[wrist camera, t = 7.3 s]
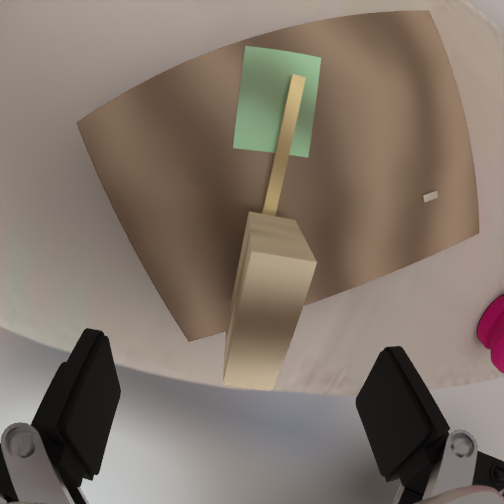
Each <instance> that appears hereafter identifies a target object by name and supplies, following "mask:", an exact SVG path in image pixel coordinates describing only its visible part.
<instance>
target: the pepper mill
mask: <svg viewBox="0 0 504 504" xmlns="http://www.w3.org/2000/svg"><path fill="white" fill-rule="evenodd" d="M477 336H478V339H479V340H480V341H481V343H482V344H483V345H484V346H485V347H486V348H487V349H491V360H492V363H493V365H494V366H495V367H496V368H497V369H498V370H499V371H500V372H502V373H504V295H503V296H501V297H499V298H498V299H496V300H495V301H494V302H493V303H492V304H491V305H490V306H489V308H488V309H487V310H486V312H485V313H484V315H483V316H482V318H481V320H480V323H479V325H478V329H477Z"/></svg>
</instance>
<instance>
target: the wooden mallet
mask: <svg viewBox="0 0 504 504" xmlns="http://www.w3.org/2000/svg"><path fill="white" fill-rule="evenodd" d="M305 79H306V77H303V76H299V75H295V74H292V75H291V80H290V85H289V89H288V94H287V99H286V103H285V108H284V112H283V117H282V122H281V126H280V131H279V136H278V140H277V145H276V150H275V154H274V159H273V164H272V168H271V173H270V177H269V182H268V187H267V191H266V196H265V201H264V205H263V210H262V214H261V213H255V212H250V211H249V214H248V219H247V224H246V229H245V234H244V239H243V244H242V249H241V254H240V259H239V264H238V269H237V274H236V279H235V284H234V289H233V294H232V300H231V305H230V310H229V315H228V320H227V329H226V344H225V359H224V375H223V385H224V386H232V387H240V388H250V389H260V390H271V391H272V390H273V388H274V385H275V383H276V380H277V377H278V375H279V372H280V370H281V367H282V364H283V361H284V359H285V356H286V353H287V351H288V348H289V345H290V342H291V339H292V337H293V334H294V331H295V328H296V325H297V322H298V319H299V317H300V314H301V311H302V308H303V305H304V302H305V299H306V296H307V293H308V290H309V286H310V283H311V280H312V277H313V274H314V271H315V268H316V264H317V261H316V259H315V257H314V255H313V253H312V251H311V249H310V247H309V245H308V244H307V242H306V240H305V238H304V236H303V234H302V232H301V230H300V228H299V226H298V224H297V223H296V221H295V220H292V219H287V218H282V217H277V216H275V215H276V211H277V206H278V202H279V197H280V193H281V189H282V184H283V180H284V175H285V171H286V167H287V162H288V158H289V153H290V149H291V144H292V140H293V135H294V130H295V126H296V121H297V117H298V112H299V107H300V103H301V98H302V94H303V89H304V84H305Z"/></svg>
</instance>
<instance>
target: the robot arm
mask: <svg viewBox="0 0 504 504" xmlns="http://www.w3.org/2000/svg"><path fill="white" fill-rule="evenodd" d="M120 393H121V390H120V385H119V381H118V377H117V373H116V369H115V365H114V361H113V356H112V352H111V348H110V343H109V339H108V337H107V336H104V333H103V332H102V331H99V330H94V329H88V328H86V329H85V330H84V331H83V333H82V335H81V337H80V338H79V340H78V342H77V344H76V346H75V347H74V349H73V351H72V353H71V355H70V357H69V359H68V360H67V362H63V363H62V364H61V365H60V367H59V368H58V370H57V372H56V374H55V376H54V378H53V380H52V382H51V384H50V386H49V388H48V390H47V392H46V394H45V396H44V398H43V400H42V402H41V404H40V406H39V408H38V410H37V413H36V415H35V417H34V419H33V421H32V424H31V425H29V424H27V423H14V424H12V425H10V426H8V427H7V428H6V429H5V430H4V432H3V434H2V437H1V443H0V504H89V503H88V501H87V499H86V497H85V496H84V494H83V492H82V490H81V488H80V486H81V483H82V479H83V478H85V479H88V480H93V476H94V475H97V474H99V471H100V467H101V463H102V459H103V455H104V451H105V447H106V444H107V440H108V436H109V433H110V429H111V425H112V422H113V418H114V415H115V412H116V408H117V405H118V402H119V398H120ZM356 407H357V410H358V412H359V415H360V418H361V421H362V423H363V426H364V429H365V432H366V434H367V437H368V440H369V443H370V445H371V448H372V451H373V454H374V457H375V459H376V462H377V465H378V468H379V471H380V473H381V475H382V476H384V477H385V479H386V482H390V481H393V480H397V479H399V478H400V480H401V486H400V489H399V491H398V493H397V495H396V497H395V500H394V502H393V504H504V462H503V461H502V460H499V459H496V458H494V457H492V456H489V455H486V454H484V453H482V452H479V451H478V449H477V448H478V447H477V442H476V440H475V438H474V437H473V436H472V435H471V434H470V433H469V432H467V431H464V430H455V431H453V432H451V434H450V435H449V433H448V431H449V429H450V427H449V426H448V424H447V422H446V420H445V418H444V417H443V415H442V413H441V411H440V410H439V408H438V406H437V404H436V403H435V401H434V399H433V397H432V395H431V394H430V392H429V390H428V389H427V387H426V385H425V383H424V382H423V380H422V378H421V377H420V375H419V374H418V372H417V370H416V369H415V367H414V365H413V364H412V362H411V361H410V359H409V357H408V356H407V354H406V353H405V351H404V349H403V348H402V347H400V346H395V347H386V348H385V349H384V350H383V351H381V352H380V354H379V356H378V358H377V360H376V362H375V364H374V366H373V368H372V370H371V372H370V374H369V375H368V377H367V379H366V381H365V383H364V385H363V387H362V389H361V390H360V392H359V394H358V396H357V398H356Z"/></svg>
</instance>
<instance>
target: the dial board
mask: <svg viewBox="0 0 504 504" xmlns="http://www.w3.org/2000/svg"><path fill="white" fill-rule="evenodd" d="M292 74H295V75H299V76H303V77H306V79H305V84H304V89H303V94H302V98H301V103H300V107H299V112H298V117H297V121H296V126H295V130H294V135H293V140H292V144H291V149H290V153H289V158H288V162H287V167H286V171H285V175H284V180H283V184H282V189H281V193H280V197H279V202H278V206H277V211H276V215H275V216H277V217H282V218H287V219H292V220H295V221H296V223H297V224H298V226H299V228H300V230H301V232H302V234H303V236H304V238H305V240H306V242H307V244H308V245H309V247H310V249H311V251H312V253H313V255H314V257H315V259H316V261H317V264H316V268H315V271H314V274H313V277H312V280H311V283H310V286H309V290H308V293H307V296H306V299H305V302H304V305H303V306H305V305H307V304H310V303H313V302H316V301H319V300H321V299H324V298H327V297H330V296H332V295H335V294H338V293H340V292H343V291H346V290H348V289H351V288H354V287H356V286H359V285H361V284H364V283H366V282H369V281H372V280H374V279H377V278H379V277H382V276H384V275H386V274H389V273H391V272H394V271H396V270H399V269H401V268H403V267H406V266H408V265H410V264H413V263H415V262H417V261H420V260H422V259H424V258H427V257H429V256H431V255H433V254H436V253H438V252H440V251H442V250H444V249H447V248H449V247H451V246H453V245H455V244H457V243H460V242H462V241H464V240H466V239H468V238H470V237H472V236H474V235H476V234H478V233H479V213H478V198H477V187H476V178H475V170H474V162H473V156H472V150H471V144H470V138H469V133H468V128H467V123H466V119H465V114H464V110H463V106H462V102H461V98H460V95H459V91H458V87H457V84H456V81H455V77H454V74H453V71H452V68H451V65H450V62H449V59H448V56H447V53H446V51H445V48H444V45H443V43H442V40H441V38H440V35H439V33H438V30H437V28H436V26H435V23H434V21H433V19H432V16H431V14H430V12H429V11H394V12H379V13H368V14H359V15H351V16H344V17H338V18H332V19H326V20H320V21H315V22H310V23H306V24H301V25H297V26H292V27H288V28H284V29H280V30H277V31H273V32H269V33H266V34H262V35H259V36H255V37H252V38H249V39H246V40H243V41H240V42H237V43H234V44H231V45H228V46H225V47H223V48H220V49H217V50H214V51H212V52H209V53H207V54H204V55H202V56H199V57H197V58H194V59H192V60H190V61H187V62H185V63H183V64H180V65H178V66H176V67H174V68H172V69H169V70H167V71H165V72H163V73H161V74H159V75H157V76H155V77H153V78H151V79H149V80H147V81H145V82H143V83H141V84H139V85H138V86H136V87H134V88H132V89H130V90H128V91H127V92H125V93H123V94H121V95H120V96H118V97H116V98H114V99H113V100H111V101H109V102H108V103H106V104H104V105H103V106H101V107H100V108H98V109H96V110H95V111H93V112H92V113H90V114H89V115H87V116H86V117H84V118H83V119H81V120H80V121H78V122H77V125H78V128H79V130H80V133H81V136H82V138H83V141H84V143H85V146H86V148H87V150H88V153H89V155H90V158H91V160H92V162H93V165H94V167H95V169H96V172H97V174H98V176H99V178H100V181H101V183H102V185H103V187H104V189H105V191H106V194H107V196H108V198H109V200H110V202H111V204H112V206H113V208H114V210H115V213H116V215H117V217H118V219H119V221H120V223H121V225H122V227H123V229H124V231H125V232H126V234H127V236H128V238H129V240H130V242H131V244H132V246H133V248H134V250H135V252H136V253H137V255H138V257H139V259H140V261H141V263H142V264H143V266H144V268H145V270H146V272H147V273H148V275H149V277H150V279H151V281H152V282H153V284H154V286H155V287H156V289H157V291H158V293H159V294H160V296H161V298H162V299H163V301H164V303H165V304H166V306H167V308H168V309H169V311H170V313H171V314H172V316H173V318H174V319H175V321H176V322H177V324H178V326H179V327H180V329H181V330H182V332H183V333H184V335H185V337H186V338H187V340H188V341H189V342H190V341H193V340H197V339H200V338H204V337H207V336H211V335H214V334H218V333H221V332H224V331H226V329H227V320H228V315H229V310H230V305H231V300H232V294H233V289H234V284H235V279H236V274H237V269H238V264H239V259H240V254H241V249H242V244H243V239H244V234H245V229H246V224H247V219H248V214H249V211H250V212H255V213H261V214H262V210H263V205H264V201H265V196H266V191H267V187H268V182H269V177H270V173H271V168H272V164H273V159H274V154H275V150H276V145H277V140H278V136H279V131H280V126H281V122H282V117H283V112H284V108H285V103H286V99H287V94H288V89H289V85H290V80H291V75H292Z"/></svg>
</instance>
